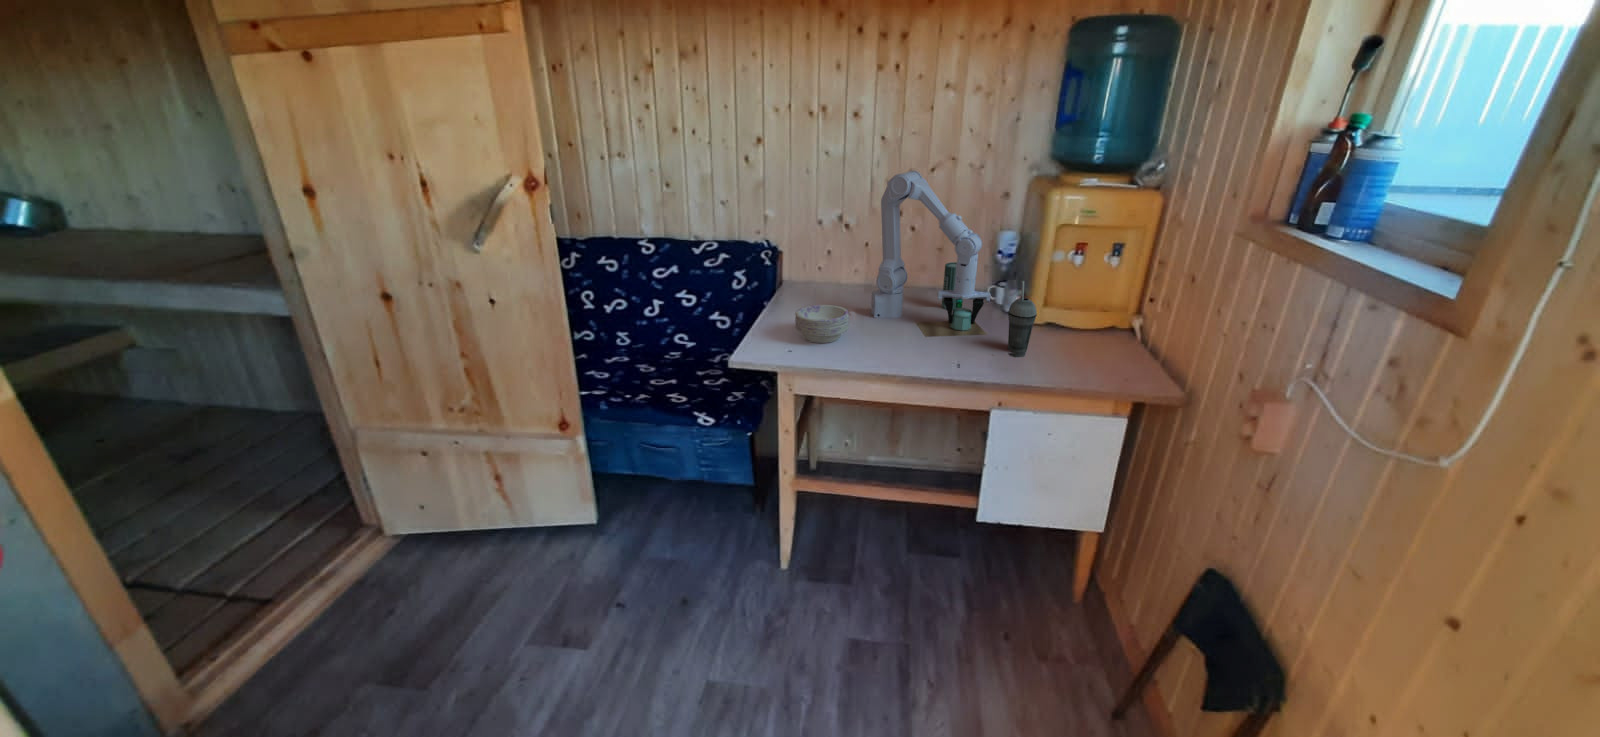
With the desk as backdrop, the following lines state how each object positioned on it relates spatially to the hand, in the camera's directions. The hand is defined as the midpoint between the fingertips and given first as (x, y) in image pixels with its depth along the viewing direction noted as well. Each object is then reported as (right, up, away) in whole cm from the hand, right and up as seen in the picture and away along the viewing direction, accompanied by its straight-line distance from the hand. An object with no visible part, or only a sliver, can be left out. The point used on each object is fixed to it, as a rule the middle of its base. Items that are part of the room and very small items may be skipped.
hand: (961, 322), depth 191 cm
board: (-3, -3, +1) cm, 4 cm away
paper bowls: (-41, -5, -3) cm, 41 cm away
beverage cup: (+11, -10, -14) cm, 21 cm away
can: (+1, +5, +19) cm, 19 cm away
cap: (0, -1, 0) cm, 1 cm away
